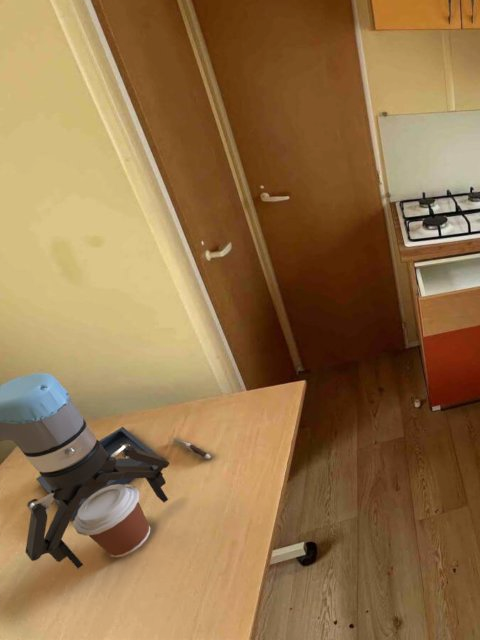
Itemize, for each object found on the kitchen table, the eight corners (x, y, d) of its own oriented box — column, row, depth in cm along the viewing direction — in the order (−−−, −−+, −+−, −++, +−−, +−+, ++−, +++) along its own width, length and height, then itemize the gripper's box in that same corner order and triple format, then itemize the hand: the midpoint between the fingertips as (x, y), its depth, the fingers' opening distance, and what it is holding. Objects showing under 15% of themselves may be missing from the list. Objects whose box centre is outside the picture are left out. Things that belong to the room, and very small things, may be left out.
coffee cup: (117, 573, 77) (87, 536, 71) (87, 553, 80) (56, 515, 74) (169, 526, 84) (145, 488, 79) (140, 509, 87) (115, 471, 82)
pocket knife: (212, 458, 98) (210, 452, 97) (209, 461, 97) (206, 455, 97) (175, 438, 103) (172, 433, 102) (171, 441, 102) (168, 436, 101)
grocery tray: (42, 486, 92) (35, 478, 91) (127, 433, 104) (122, 426, 103) (73, 521, 85) (67, 513, 84) (160, 461, 97) (155, 453, 96)
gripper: (-35, 533, 59) (43, 608, 69) (163, 411, 79) (202, 483, 89) (-51, 508, 63) (25, 583, 72) (143, 397, 82) (182, 467, 92)
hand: (122, 528), depth 81 cm, fingers open, 13 cm apart
